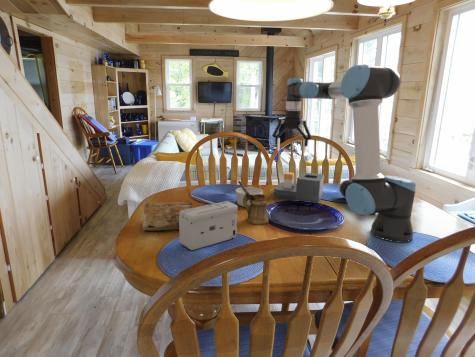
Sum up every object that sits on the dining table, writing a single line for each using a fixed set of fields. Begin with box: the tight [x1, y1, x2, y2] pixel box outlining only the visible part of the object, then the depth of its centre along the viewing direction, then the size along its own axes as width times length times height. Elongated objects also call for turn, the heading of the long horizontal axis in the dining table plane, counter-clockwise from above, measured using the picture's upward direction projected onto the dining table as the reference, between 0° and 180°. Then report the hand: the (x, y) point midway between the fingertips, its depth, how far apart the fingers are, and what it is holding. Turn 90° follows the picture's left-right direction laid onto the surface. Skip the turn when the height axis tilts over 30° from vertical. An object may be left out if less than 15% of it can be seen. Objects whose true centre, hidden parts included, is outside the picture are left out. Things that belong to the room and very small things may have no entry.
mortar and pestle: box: [237, 180, 269, 226], centre depth 139 cm, size 9×14×18 cm, turn 93°
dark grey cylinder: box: [338, 179, 376, 215], centre depth 164 cm, size 10×28×10 cm, turn 10°
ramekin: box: [235, 186, 264, 208], centre depth 163 cm, size 13×13×7 cm
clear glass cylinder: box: [283, 171, 295, 189], centre depth 177 cm, size 4×4×10 cm
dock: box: [273, 171, 325, 203], centre depth 175 cm, size 16×23×12 cm
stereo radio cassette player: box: [178, 194, 238, 251], centre depth 118 cm, size 21×8×20 cm, turn 127°
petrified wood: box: [142, 201, 193, 232], centre depth 132 cm, size 19×13×10 cm
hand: (290, 151), depth 173 cm, fingers open, 13 cm apart
